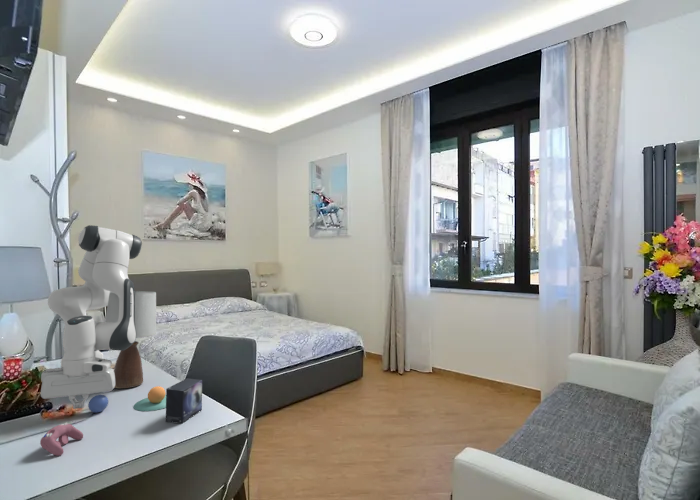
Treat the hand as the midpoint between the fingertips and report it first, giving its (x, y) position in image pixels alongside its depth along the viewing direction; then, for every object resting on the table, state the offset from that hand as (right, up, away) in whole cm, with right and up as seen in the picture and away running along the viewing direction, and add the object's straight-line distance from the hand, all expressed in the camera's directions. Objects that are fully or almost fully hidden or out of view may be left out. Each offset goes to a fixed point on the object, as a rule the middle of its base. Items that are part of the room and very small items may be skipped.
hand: (79, 407), depth 123 cm
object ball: (+21, +1, +8) cm, 23 cm away
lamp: (0, -2, +26) cm, 26 cm away
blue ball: (+6, +1, +1) cm, 6 cm away
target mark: (+22, -2, +8) cm, 23 cm away
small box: (+36, -2, -3) cm, 37 cm away
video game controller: (+12, -2, -22) cm, 25 cm away
